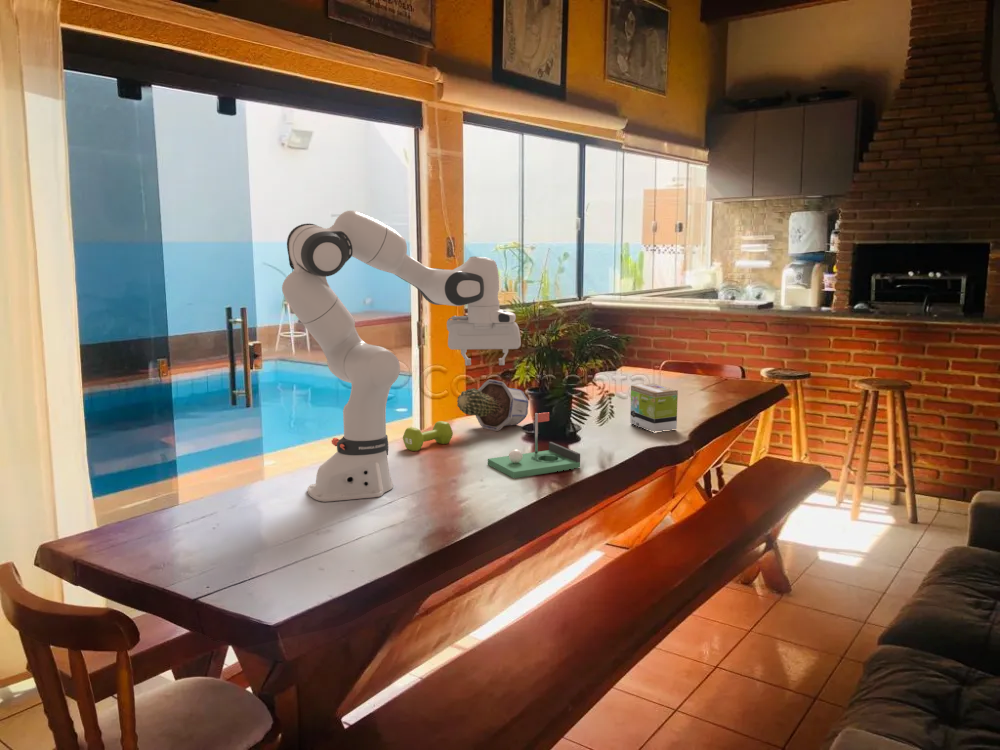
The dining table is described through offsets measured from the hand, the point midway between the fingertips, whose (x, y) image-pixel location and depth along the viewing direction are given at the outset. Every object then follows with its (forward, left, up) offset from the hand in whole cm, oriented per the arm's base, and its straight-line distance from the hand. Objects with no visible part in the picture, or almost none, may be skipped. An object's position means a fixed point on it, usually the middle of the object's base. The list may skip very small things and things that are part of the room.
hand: (485, 365), depth 225 cm
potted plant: (+25, +47, -31) cm, 62 cm away
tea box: (+77, +22, -31) cm, 86 cm away
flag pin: (+22, +6, -31) cm, 39 cm away
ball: (+9, -1, -27) cm, 29 cm away
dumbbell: (-3, +36, -32) cm, 48 cm away
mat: (+15, -1, -31) cm, 35 cm away
